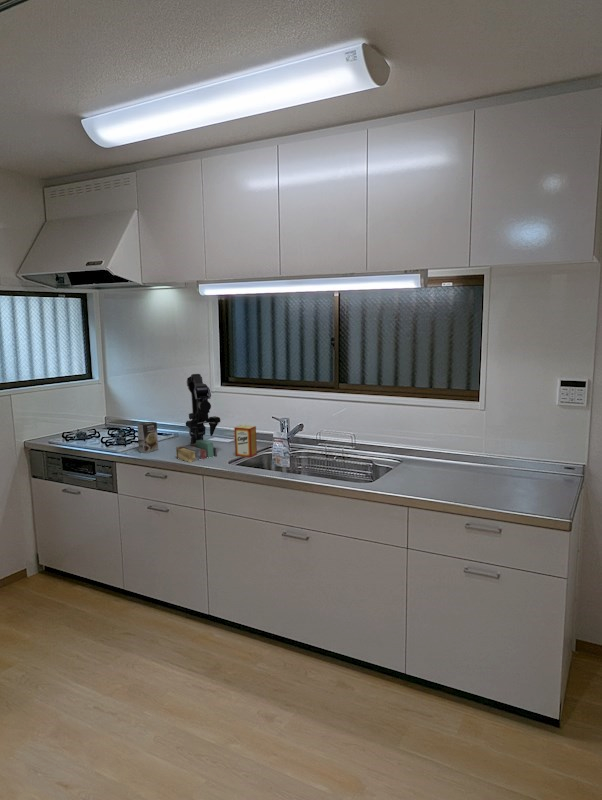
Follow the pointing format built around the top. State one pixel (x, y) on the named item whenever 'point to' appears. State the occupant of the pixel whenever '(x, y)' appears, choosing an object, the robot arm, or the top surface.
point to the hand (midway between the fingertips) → (204, 437)
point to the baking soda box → (245, 441)
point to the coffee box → (147, 437)
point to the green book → (205, 447)
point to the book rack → (192, 453)
